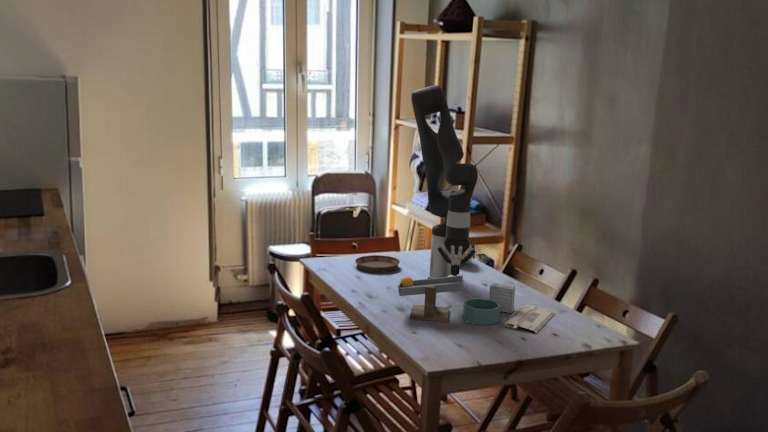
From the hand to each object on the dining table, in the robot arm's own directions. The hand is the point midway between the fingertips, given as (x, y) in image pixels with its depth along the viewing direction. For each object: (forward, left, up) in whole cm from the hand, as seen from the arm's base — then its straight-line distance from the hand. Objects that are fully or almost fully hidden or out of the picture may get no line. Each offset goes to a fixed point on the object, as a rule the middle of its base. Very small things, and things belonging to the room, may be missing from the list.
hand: (454, 275), depth 235 cm
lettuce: (-43, -39, -12) cm, 59 cm away
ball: (+16, -6, -1) cm, 17 cm away
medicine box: (-12, +10, -12) cm, 20 cm away
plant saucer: (-10, -52, -12) cm, 54 cm away
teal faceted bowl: (0, +12, -12) cm, 17 cm away
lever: (+8, -2, -5) cm, 9 cm away
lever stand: (+11, 0, -12) cm, 16 cm away
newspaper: (-12, +21, -12) cm, 28 cm away
